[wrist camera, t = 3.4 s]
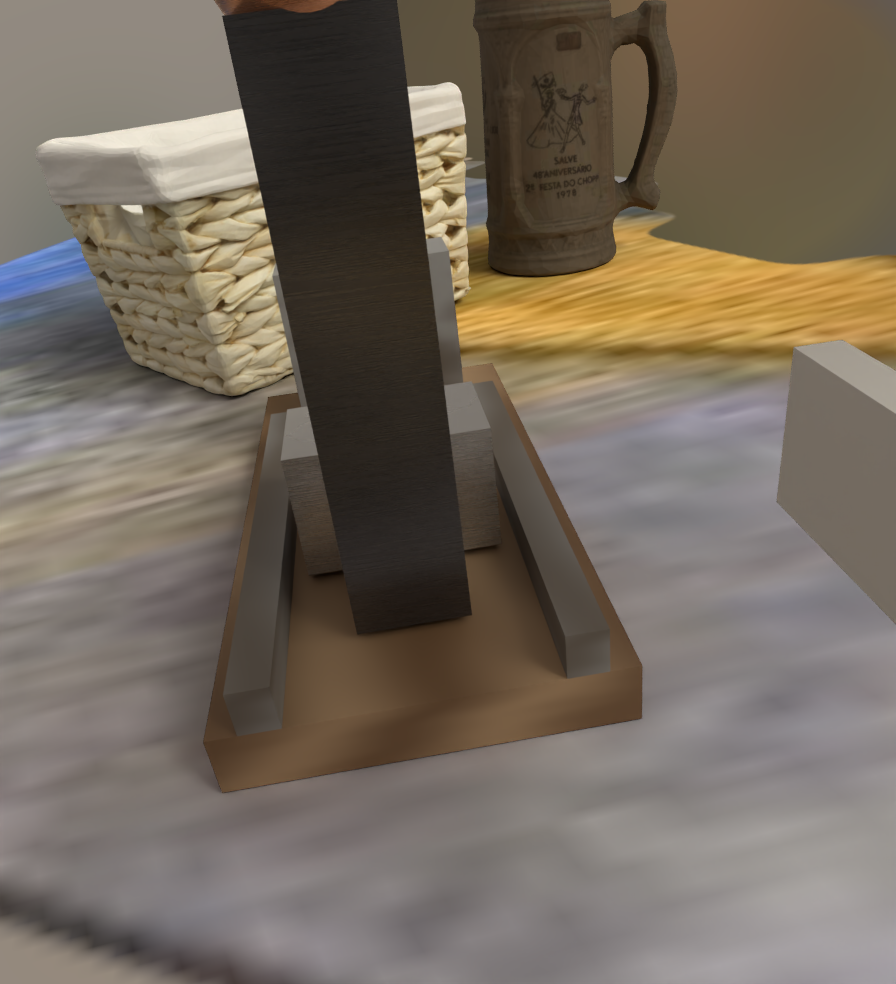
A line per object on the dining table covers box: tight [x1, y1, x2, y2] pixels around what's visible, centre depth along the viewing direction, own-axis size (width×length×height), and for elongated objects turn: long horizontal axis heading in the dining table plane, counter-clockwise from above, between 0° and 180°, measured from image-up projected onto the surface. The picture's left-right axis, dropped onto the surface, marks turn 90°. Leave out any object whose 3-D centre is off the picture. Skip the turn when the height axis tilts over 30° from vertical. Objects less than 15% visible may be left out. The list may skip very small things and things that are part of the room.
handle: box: [214, 0, 501, 635], centre depth 22 cm, size 7×8×19 cm
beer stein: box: [473, 0, 677, 276], centre depth 63 cm, size 15×11×20 cm
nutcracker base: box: [203, 237, 642, 793], centre depth 31 cm, size 12×24×9 cm, turn 7°
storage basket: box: [36, 82, 471, 396], centre depth 54 cm, size 24×16×15 cm
